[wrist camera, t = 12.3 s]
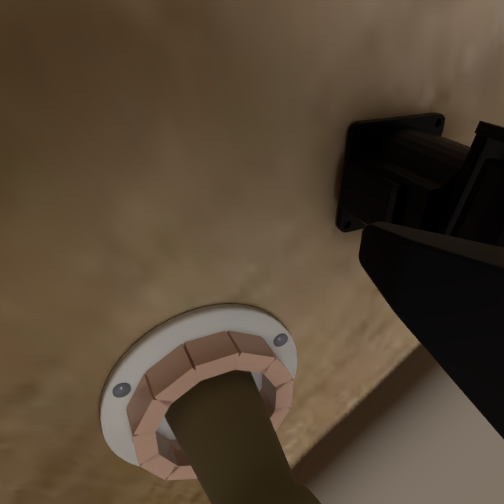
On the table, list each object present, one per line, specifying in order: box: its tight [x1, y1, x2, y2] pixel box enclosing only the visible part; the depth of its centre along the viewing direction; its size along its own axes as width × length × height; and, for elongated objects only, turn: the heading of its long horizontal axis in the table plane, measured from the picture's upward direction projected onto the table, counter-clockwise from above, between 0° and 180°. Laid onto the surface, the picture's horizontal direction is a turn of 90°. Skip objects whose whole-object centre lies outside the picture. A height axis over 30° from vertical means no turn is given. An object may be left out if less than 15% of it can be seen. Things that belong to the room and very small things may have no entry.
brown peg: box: [164, 370, 321, 504], centre depth 23 cm, size 6×6×11 cm
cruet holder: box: [99, 304, 297, 480], centre depth 27 cm, size 13×13×3 cm
